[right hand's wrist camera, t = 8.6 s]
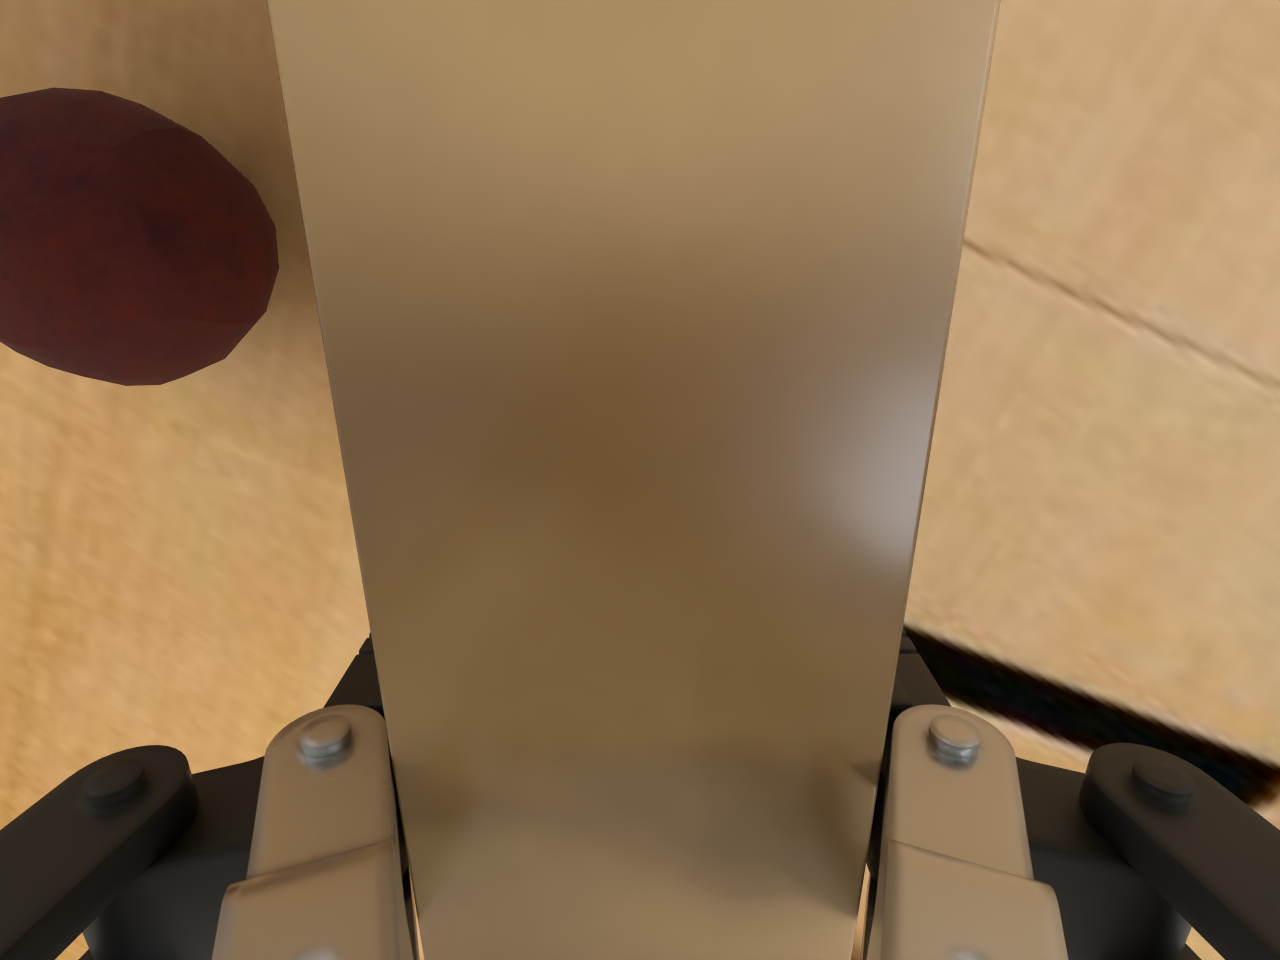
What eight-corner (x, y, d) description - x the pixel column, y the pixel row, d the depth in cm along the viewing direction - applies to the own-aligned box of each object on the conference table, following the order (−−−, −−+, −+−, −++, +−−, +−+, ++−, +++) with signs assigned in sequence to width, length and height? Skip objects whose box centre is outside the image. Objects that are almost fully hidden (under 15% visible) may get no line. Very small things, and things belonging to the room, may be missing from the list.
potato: (22, 125, 21) (-258, 92, 14) (279, 90, 21) (112, 40, 14) (118, 370, 24) (-80, 436, 17) (346, 342, 23) (233, 399, 17)
